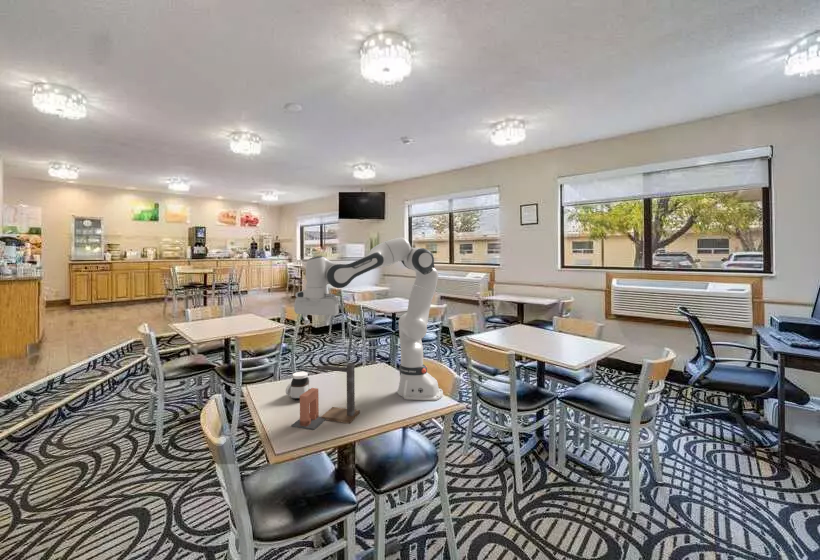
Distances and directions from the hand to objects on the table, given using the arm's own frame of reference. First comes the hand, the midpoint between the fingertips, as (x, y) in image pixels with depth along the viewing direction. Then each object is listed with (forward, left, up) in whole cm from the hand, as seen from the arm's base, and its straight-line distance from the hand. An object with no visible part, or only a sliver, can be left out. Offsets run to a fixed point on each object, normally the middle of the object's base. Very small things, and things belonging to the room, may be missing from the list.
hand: (316, 324), depth 159 cm
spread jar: (+15, -7, -37) cm, 41 cm away
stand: (-12, +6, -37) cm, 39 cm away
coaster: (-5, +15, -37) cm, 40 cm away
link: (-5, +15, -36) cm, 40 cm away
